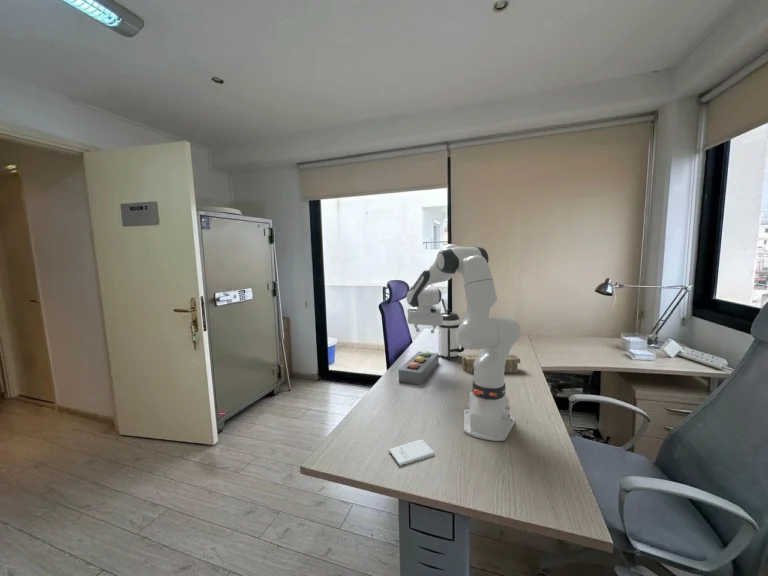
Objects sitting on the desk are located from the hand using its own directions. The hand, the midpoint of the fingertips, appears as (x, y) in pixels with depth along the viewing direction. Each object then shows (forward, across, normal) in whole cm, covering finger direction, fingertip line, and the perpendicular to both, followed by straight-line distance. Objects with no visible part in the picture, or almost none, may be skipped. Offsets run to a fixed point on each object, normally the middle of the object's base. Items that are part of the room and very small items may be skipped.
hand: (425, 332), depth 176 cm
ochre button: (+14, 0, -10) cm, 17 cm away
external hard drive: (+20, +20, -78) cm, 83 cm away
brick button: (+13, 0, -20) cm, 24 cm away
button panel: (+20, 0, -10) cm, 22 cm away
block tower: (+20, +35, +6) cm, 41 cm away
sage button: (+14, 0, 0) cm, 14 cm away
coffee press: (+20, +10, +20) cm, 30 cm away
